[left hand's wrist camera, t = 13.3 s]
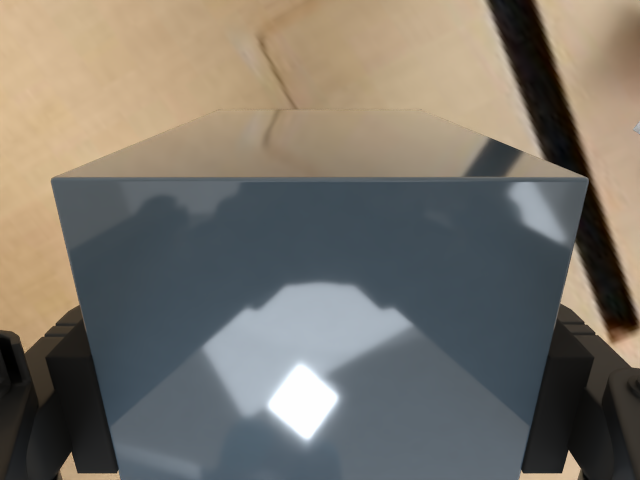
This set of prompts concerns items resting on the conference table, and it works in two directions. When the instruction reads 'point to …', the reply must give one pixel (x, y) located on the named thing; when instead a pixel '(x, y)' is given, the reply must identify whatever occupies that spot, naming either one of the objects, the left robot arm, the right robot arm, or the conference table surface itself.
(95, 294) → the block
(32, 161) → the conference table surface
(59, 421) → the left robot arm
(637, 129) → the fish
